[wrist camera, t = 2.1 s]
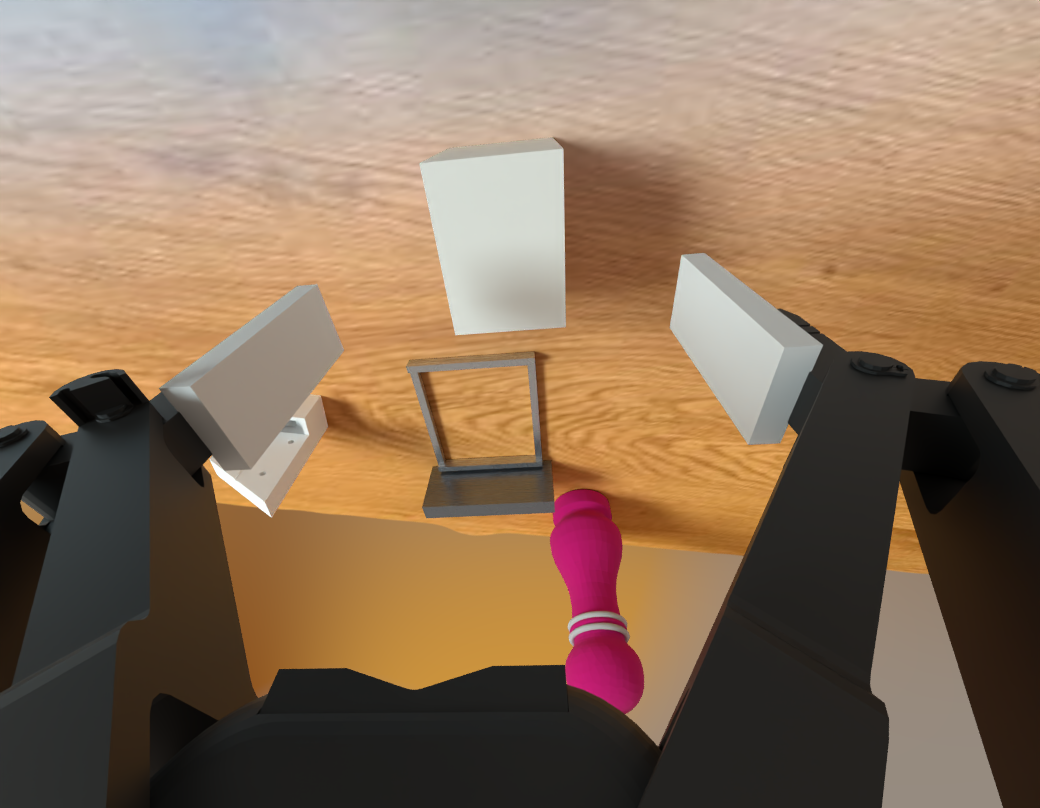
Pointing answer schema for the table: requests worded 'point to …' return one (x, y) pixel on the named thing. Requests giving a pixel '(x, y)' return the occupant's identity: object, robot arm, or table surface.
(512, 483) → the rail plate
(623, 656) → the pepper mill
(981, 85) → the table surface
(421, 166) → the block
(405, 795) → the robot arm
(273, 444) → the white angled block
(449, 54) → the table surface
